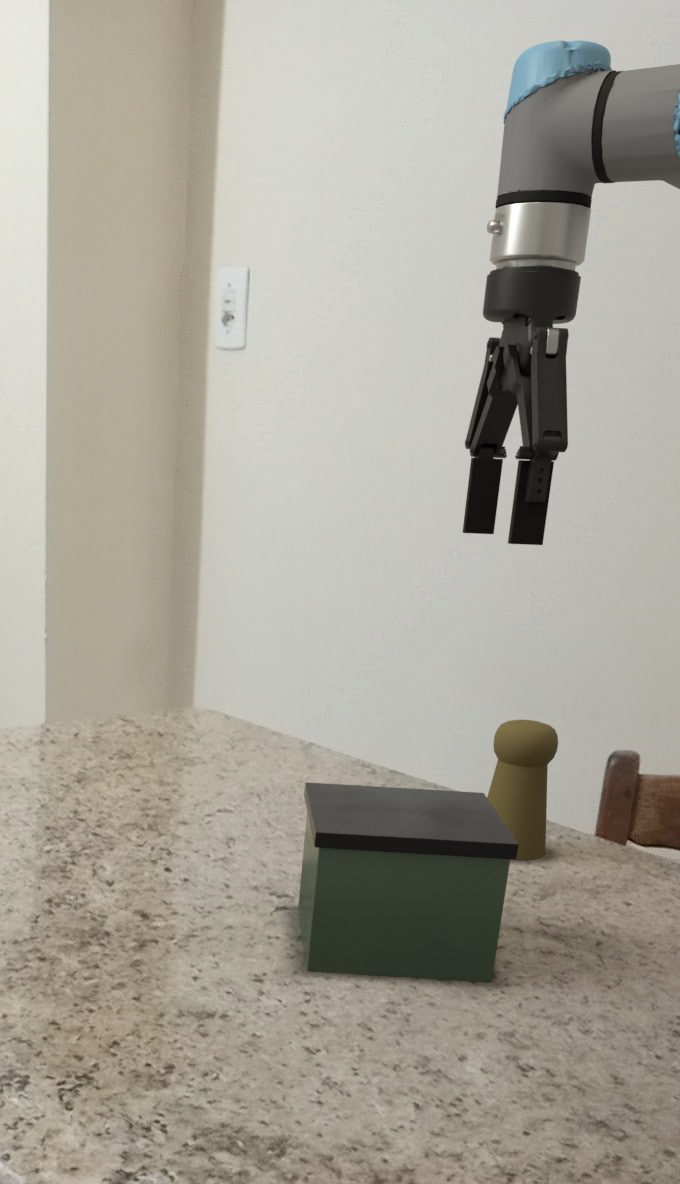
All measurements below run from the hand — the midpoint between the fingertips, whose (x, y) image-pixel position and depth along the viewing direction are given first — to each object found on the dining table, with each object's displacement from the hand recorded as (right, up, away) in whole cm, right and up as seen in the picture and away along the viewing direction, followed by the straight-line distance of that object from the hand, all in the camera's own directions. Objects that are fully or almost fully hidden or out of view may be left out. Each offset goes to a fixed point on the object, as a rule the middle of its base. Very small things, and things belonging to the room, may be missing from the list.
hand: (500, 539), depth 120 cm
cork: (0, -28, -3) cm, 28 cm away
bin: (-14, -36, -25) cm, 46 cm away
